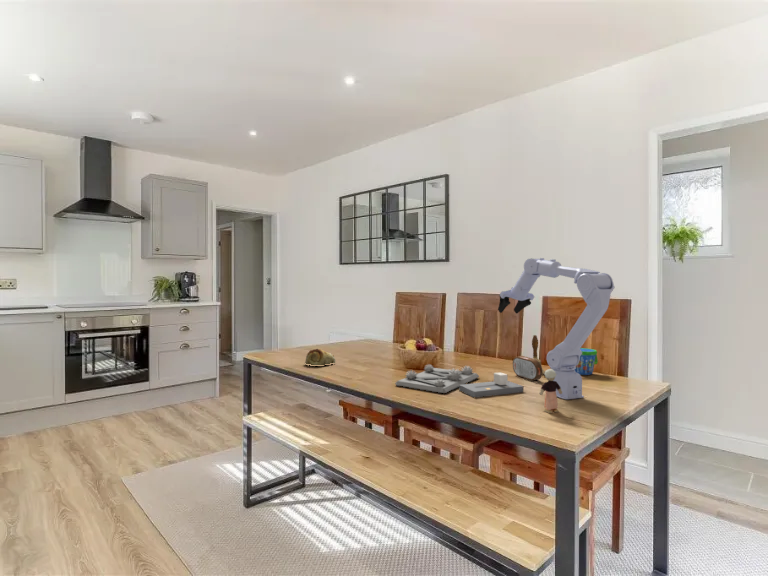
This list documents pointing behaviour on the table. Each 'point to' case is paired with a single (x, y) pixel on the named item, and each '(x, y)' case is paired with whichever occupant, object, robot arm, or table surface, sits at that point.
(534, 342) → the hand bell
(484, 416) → the table surface
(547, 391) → the grandmother figurine
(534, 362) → the tin
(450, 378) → the grey knobbed board
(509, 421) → the table surface
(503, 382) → the switch tab
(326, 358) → the pastry
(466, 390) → the switch board
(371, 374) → the table surface
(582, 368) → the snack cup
